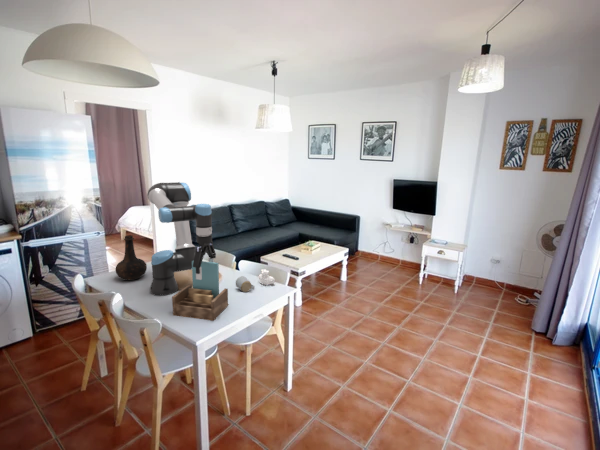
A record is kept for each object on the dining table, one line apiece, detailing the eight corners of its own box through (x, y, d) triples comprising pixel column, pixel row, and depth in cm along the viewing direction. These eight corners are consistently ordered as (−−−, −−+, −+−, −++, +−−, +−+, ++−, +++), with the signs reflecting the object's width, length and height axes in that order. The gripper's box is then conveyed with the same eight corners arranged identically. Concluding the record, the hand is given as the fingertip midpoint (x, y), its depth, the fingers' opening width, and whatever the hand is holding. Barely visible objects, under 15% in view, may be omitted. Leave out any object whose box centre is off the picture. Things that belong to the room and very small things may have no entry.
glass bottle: (127, 285, 191) (123, 241, 185) (110, 279, 200) (106, 236, 194) (153, 276, 206) (150, 235, 200) (136, 271, 215) (133, 231, 209)
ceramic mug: (241, 294, 185) (241, 281, 183) (235, 289, 191) (235, 277, 190) (257, 290, 191) (257, 278, 189) (250, 285, 197) (251, 274, 196)
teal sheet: (193, 304, 167) (191, 261, 162) (195, 303, 168) (193, 260, 163) (218, 307, 164) (217, 263, 159) (219, 306, 166) (218, 262, 161)
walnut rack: (172, 318, 155) (171, 297, 153) (191, 302, 172) (190, 283, 170) (214, 323, 151) (213, 302, 149) (229, 306, 169) (228, 287, 166)
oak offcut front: (193, 311, 160) (193, 294, 158) (195, 309, 161) (194, 293, 159) (212, 313, 158) (211, 296, 156) (213, 312, 159) (213, 295, 157)
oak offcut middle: (189, 307, 164) (188, 289, 162) (190, 305, 165) (190, 287, 163) (210, 309, 162) (210, 291, 159) (212, 308, 163) (211, 290, 161)
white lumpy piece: (258, 285, 204) (251, 275, 196) (263, 275, 208) (257, 265, 200) (273, 289, 198) (267, 279, 190) (278, 279, 202) (273, 269, 195)
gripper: (198, 241, 146) (200, 284, 150) (221, 230, 170) (222, 267, 174) (184, 240, 147) (185, 282, 151) (208, 229, 171) (209, 265, 175)
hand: (205, 274), depth 163 cm, fingers open, 13 cm apart
